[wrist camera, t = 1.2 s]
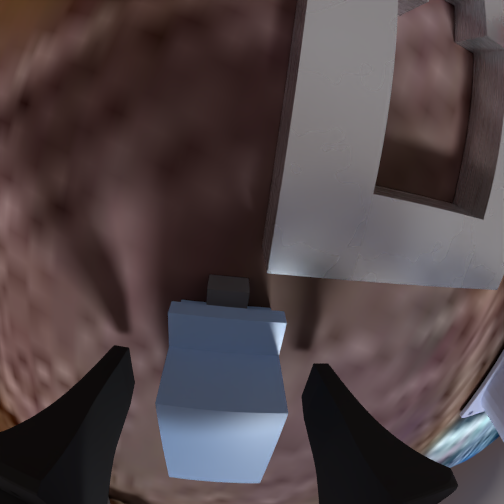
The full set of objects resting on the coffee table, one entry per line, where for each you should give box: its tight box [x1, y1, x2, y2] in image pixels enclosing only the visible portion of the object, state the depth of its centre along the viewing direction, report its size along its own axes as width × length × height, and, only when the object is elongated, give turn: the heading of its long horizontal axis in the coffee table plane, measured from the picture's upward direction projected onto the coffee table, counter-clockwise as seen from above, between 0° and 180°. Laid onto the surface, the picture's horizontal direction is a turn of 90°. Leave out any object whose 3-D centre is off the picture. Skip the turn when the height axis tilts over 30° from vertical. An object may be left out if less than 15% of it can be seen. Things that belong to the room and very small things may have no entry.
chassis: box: [262, 0, 504, 290], centre depth 8 cm, size 10×12×2 cm
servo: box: [155, 275, 288, 483], centre depth 10 cm, size 8×3×5 cm, turn 173°
